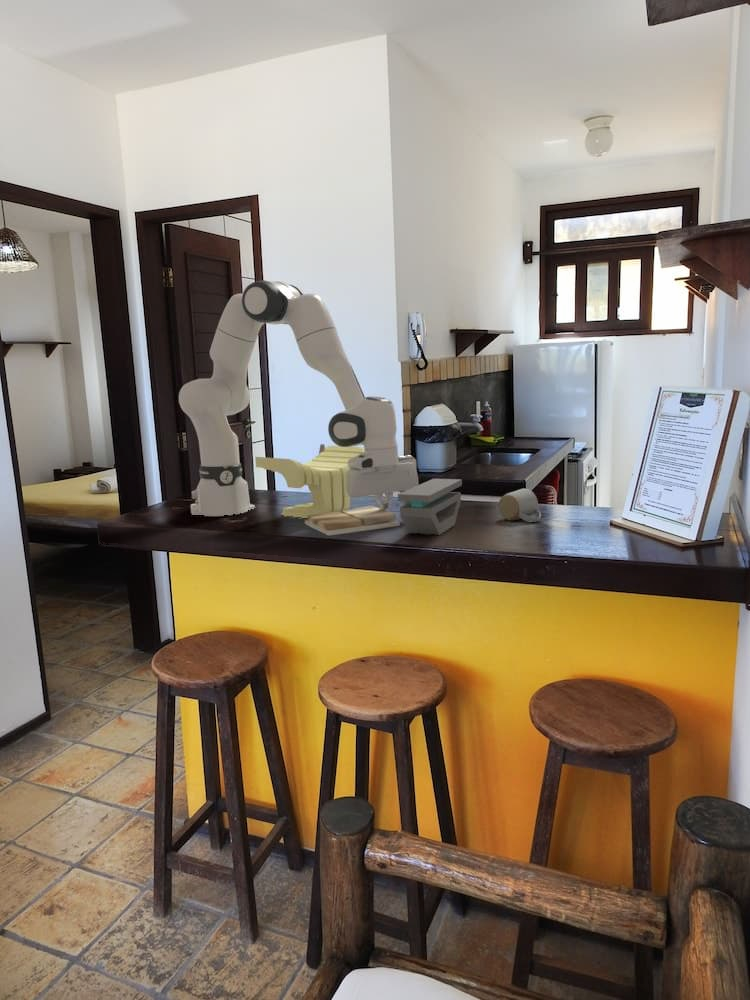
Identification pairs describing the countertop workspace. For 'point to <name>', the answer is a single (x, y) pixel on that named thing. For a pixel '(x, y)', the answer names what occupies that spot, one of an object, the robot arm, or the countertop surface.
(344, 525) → the oak plank
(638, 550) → the countertop surface
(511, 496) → the ceramic mug
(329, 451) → the yellow ribbed sculpture
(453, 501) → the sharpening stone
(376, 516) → the ash plank
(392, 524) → the underlay board
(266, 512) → the countertop surface
